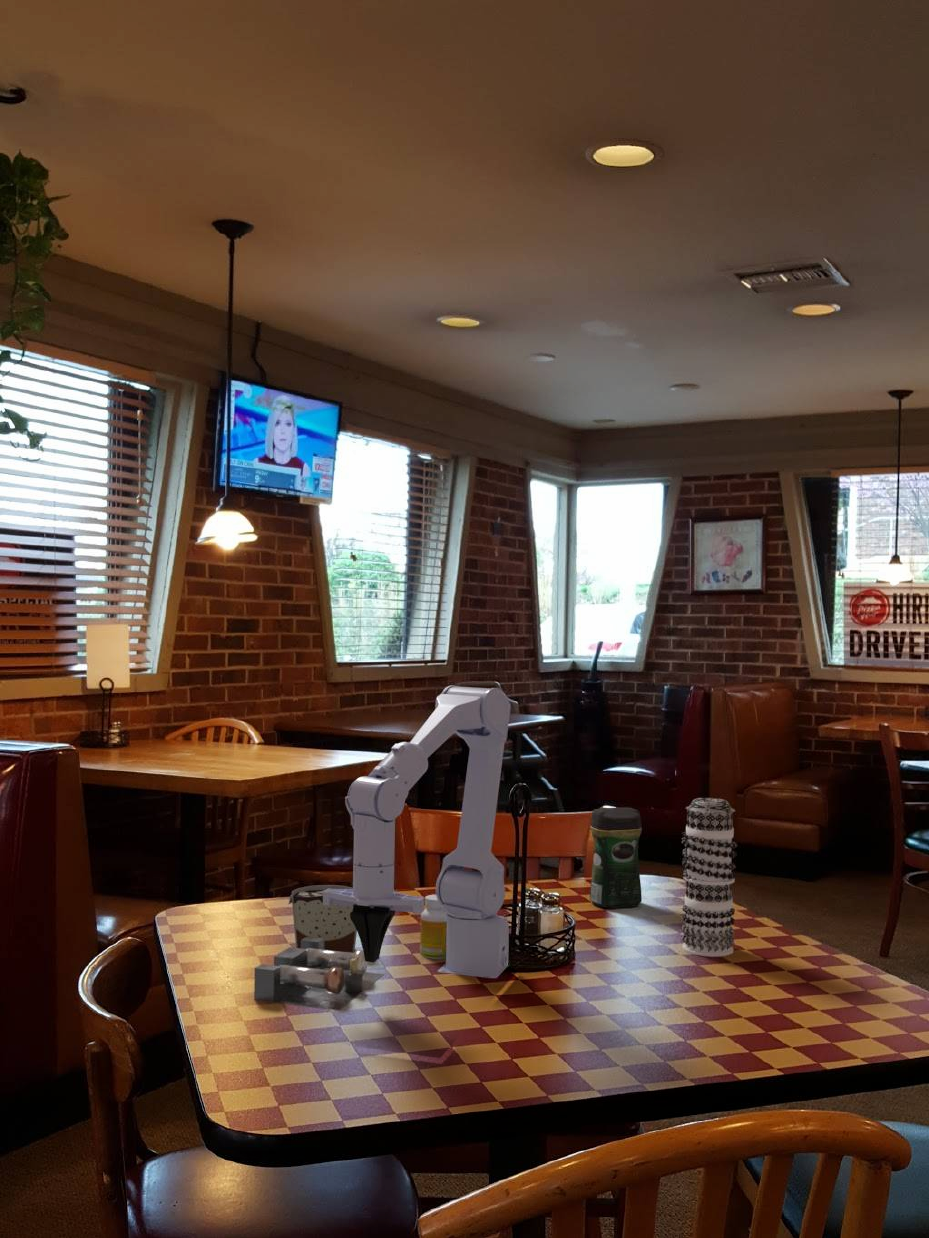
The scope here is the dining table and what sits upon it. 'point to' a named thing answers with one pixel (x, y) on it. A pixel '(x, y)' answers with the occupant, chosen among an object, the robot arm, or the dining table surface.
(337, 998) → the mount
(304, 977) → the copper-capped metal rod
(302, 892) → the food container
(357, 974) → the potentiometer
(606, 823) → the coffee jar
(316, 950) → the silver long cylinder
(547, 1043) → the dining table surface
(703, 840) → the decorative candle
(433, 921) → the supplement bottle
